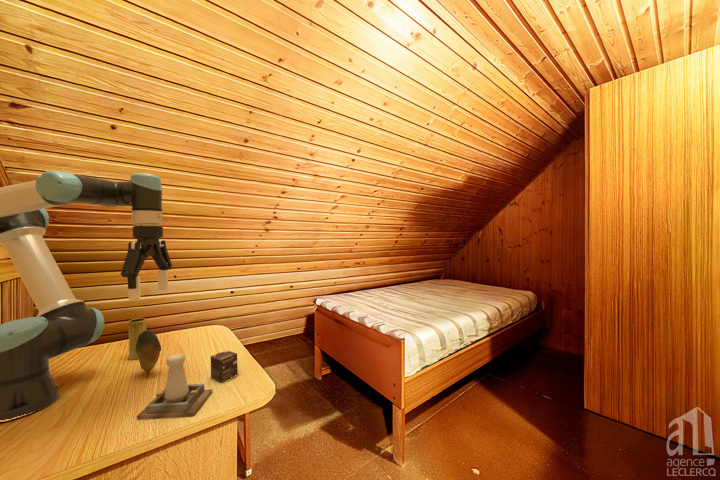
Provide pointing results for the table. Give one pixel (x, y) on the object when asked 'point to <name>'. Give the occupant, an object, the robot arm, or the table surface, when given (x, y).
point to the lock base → (176, 404)
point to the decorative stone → (148, 350)
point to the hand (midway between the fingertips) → (150, 294)
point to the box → (224, 366)
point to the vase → (135, 335)
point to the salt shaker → (176, 380)
